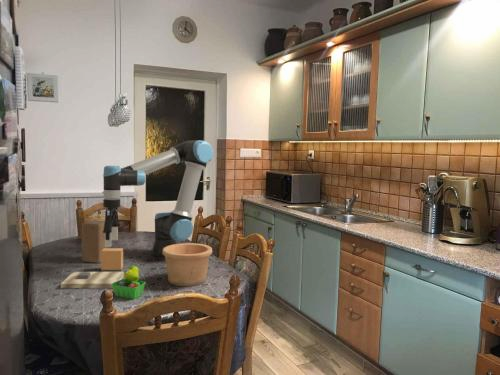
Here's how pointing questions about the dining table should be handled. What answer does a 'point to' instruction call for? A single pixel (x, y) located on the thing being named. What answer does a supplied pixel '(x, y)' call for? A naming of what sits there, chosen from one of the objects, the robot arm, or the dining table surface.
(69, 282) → the birch board
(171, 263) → the pottery
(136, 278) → the fruit basket
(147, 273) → the dining table surface
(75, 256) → the dining table surface
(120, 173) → the robot arm
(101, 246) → the wooden block
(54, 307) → the dining table surface
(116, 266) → the block
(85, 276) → the gray square block
